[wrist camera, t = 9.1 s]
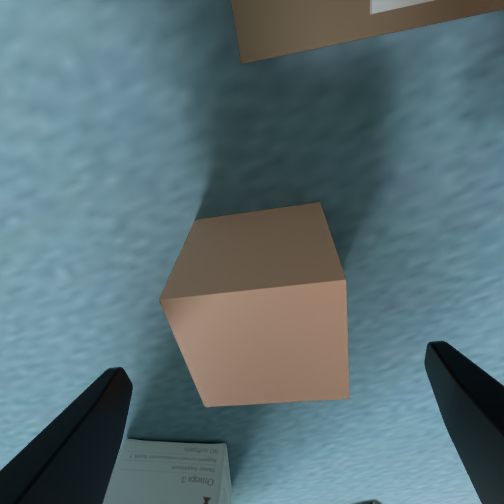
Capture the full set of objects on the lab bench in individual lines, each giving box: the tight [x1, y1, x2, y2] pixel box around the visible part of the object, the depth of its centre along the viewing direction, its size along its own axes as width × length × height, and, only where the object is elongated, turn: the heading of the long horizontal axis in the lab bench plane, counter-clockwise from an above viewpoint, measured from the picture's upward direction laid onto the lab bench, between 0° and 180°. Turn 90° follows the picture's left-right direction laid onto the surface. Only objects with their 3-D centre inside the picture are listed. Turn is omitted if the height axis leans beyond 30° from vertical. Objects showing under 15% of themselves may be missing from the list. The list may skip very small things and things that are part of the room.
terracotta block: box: [159, 202, 349, 407], centre depth 12 cm, size 5×5×5 cm
